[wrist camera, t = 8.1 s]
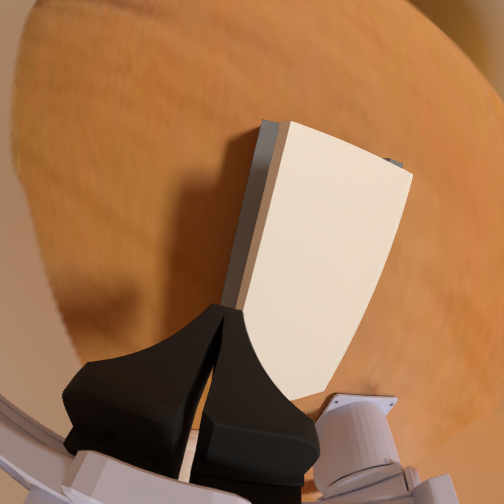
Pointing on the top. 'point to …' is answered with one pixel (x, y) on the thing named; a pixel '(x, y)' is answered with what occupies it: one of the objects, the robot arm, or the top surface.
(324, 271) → the panel
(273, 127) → the cable duct
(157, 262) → the top surface
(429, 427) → the top surface
